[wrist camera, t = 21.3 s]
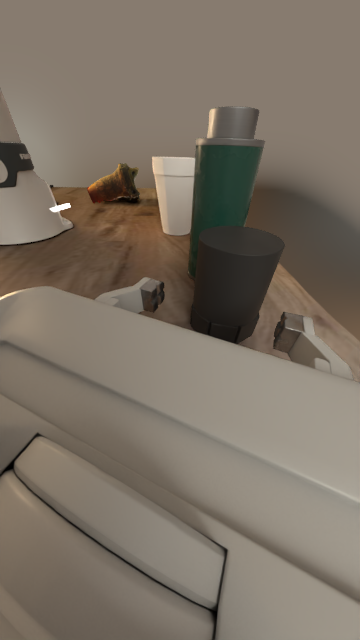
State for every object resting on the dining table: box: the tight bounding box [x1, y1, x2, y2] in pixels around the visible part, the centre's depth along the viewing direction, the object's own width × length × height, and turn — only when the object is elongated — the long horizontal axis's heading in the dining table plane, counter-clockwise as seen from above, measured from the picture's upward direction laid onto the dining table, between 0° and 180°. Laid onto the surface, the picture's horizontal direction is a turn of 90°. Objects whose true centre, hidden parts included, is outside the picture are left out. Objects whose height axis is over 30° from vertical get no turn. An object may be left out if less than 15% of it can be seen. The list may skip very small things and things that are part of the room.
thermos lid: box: [190, 226, 285, 344], centre depth 18 cm, size 7×7×9 cm
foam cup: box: [152, 157, 195, 235], centre depth 40 cm, size 10×9×13 cm
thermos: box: [188, 107, 265, 281], centre depth 24 cm, size 7×7×17 cm
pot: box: [88, 163, 140, 203], centre depth 65 cm, size 17×11×18 cm
